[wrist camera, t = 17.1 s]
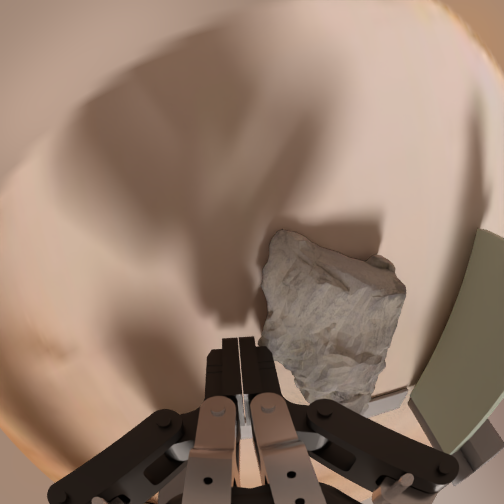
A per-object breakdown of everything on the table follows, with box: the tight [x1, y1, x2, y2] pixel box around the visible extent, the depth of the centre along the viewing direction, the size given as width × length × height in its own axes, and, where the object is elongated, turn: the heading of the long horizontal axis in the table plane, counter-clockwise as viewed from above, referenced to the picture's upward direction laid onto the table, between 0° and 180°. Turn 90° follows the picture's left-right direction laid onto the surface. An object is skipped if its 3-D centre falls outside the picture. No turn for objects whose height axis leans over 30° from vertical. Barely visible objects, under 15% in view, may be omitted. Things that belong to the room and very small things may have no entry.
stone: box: [258, 229, 406, 415], centre depth 13 cm, size 6×12×4 cm, turn 179°
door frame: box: [158, 388, 504, 504], centre depth 13 cm, size 3×24×10 cm, turn 92°
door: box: [410, 228, 504, 455], centre depth 12 cm, size 2×14×7 cm, turn 176°
